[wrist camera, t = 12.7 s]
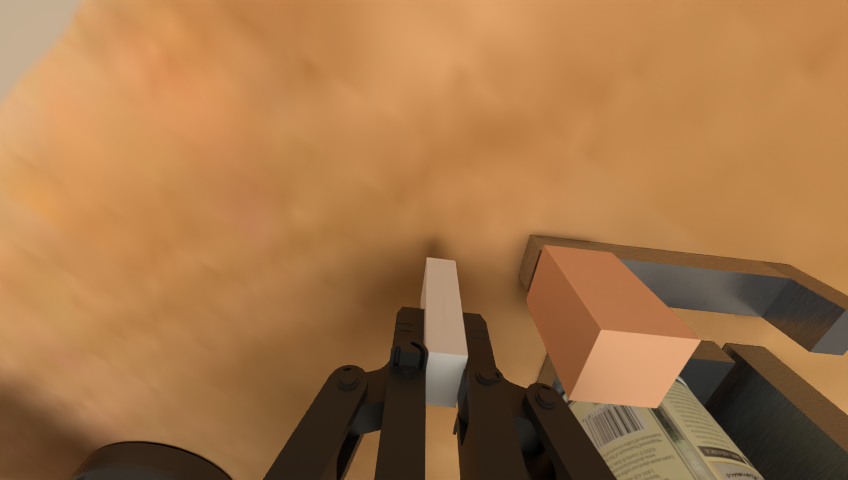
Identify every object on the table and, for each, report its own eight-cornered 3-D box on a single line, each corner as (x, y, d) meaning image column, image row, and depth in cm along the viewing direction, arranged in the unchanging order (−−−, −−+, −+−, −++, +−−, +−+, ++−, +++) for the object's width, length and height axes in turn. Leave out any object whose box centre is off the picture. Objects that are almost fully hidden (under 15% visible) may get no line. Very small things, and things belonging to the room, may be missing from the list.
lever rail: (518, 274, 23) (541, 324, 18) (530, 234, 21) (557, 278, 17) (763, 301, 23) (842, 355, 19) (789, 264, 22) (881, 313, 18)
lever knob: (525, 301, 21) (568, 400, 14) (543, 244, 19) (601, 329, 13) (588, 307, 21) (656, 408, 15) (611, 252, 19) (701, 339, 13)
